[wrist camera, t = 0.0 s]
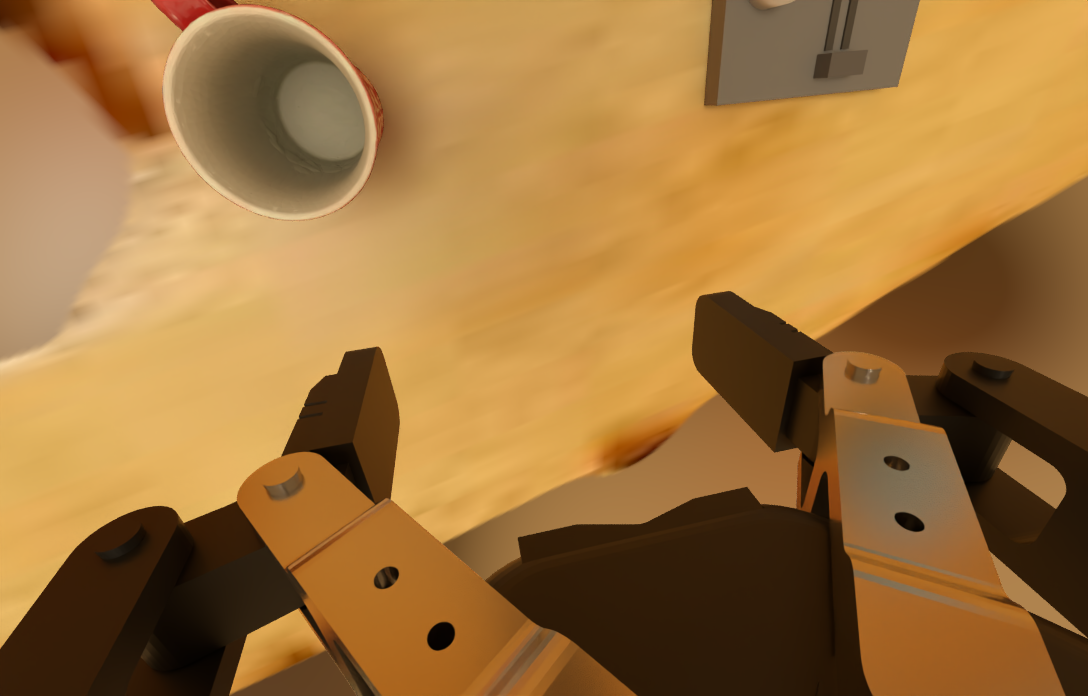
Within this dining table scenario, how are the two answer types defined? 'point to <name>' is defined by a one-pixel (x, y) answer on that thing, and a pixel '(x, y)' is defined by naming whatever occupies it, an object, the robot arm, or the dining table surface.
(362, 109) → the mug
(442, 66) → the dining table surface
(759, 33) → the console
